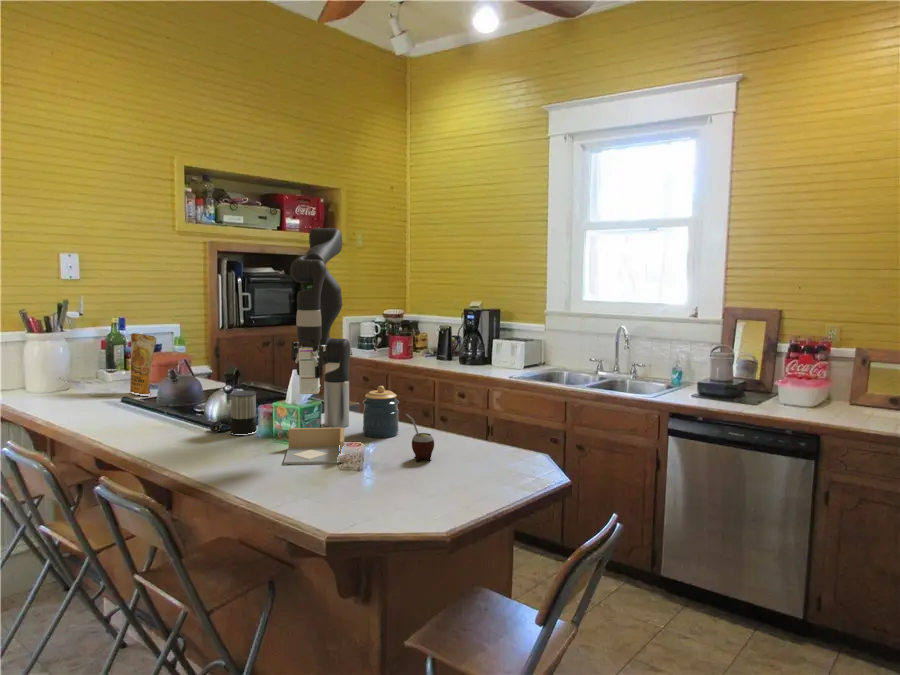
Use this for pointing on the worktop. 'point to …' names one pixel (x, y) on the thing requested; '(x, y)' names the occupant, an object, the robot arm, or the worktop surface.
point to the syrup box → (308, 372)
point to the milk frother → (241, 413)
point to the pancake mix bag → (141, 362)
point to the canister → (380, 413)
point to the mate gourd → (422, 444)
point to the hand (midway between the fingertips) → (309, 376)
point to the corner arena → (314, 445)
